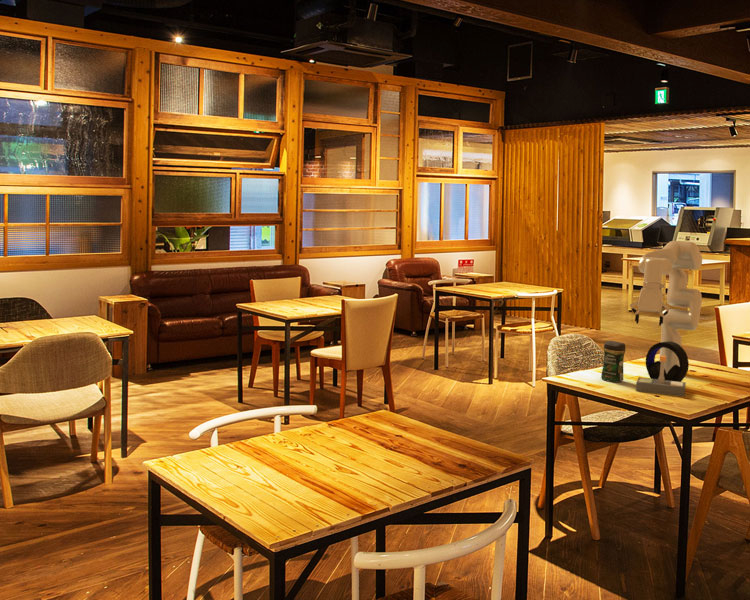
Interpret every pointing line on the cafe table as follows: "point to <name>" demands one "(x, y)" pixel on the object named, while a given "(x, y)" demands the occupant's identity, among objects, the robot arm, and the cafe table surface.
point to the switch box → (660, 386)
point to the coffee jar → (613, 361)
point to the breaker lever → (662, 365)
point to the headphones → (673, 374)
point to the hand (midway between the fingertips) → (648, 324)
